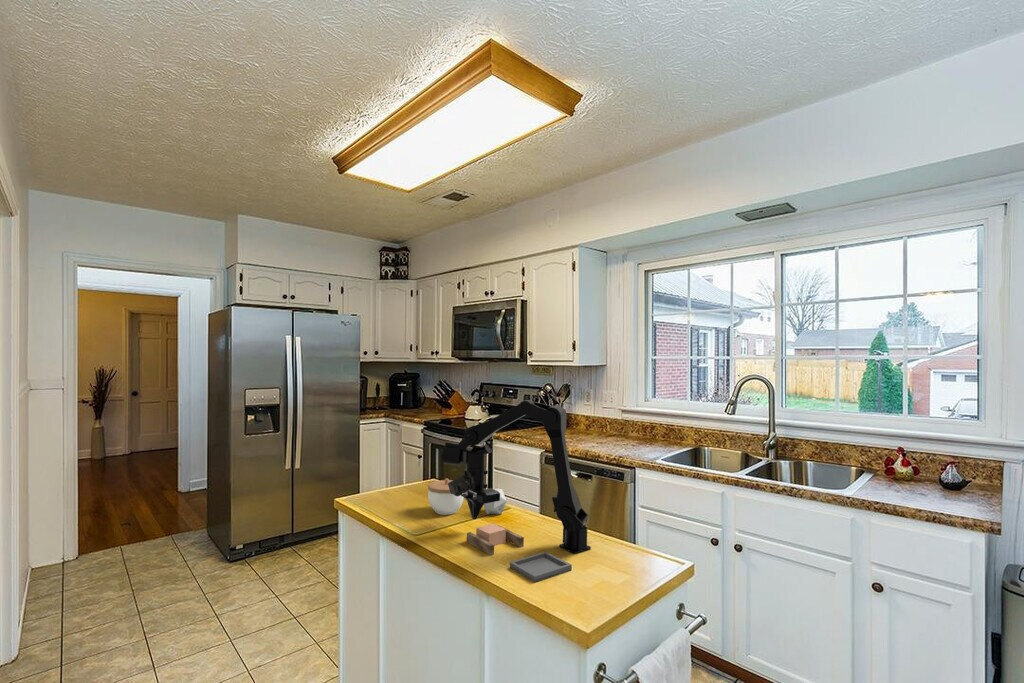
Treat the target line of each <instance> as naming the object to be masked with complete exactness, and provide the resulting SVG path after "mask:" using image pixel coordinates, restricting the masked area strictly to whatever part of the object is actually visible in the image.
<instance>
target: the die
mask: <svg viewBox="0 0 1024 683" xmlns="http://www.w3.org/2000/svg"><path fill="white" fill-rule="evenodd" d="M493 489H494V490H497V491H498V492H499V493H500V501H496V502H491V503H486V504H484V505H483V508H484V511H485V513H486V515H502V514H503V512H504V509H505V506H506V504H507V499H506V496H505V493H504V490H503V489H502V488H493Z"/></svg>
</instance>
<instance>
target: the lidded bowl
mask: <svg viewBox="0 0 1024 683" xmlns="http://www.w3.org/2000/svg"><path fill="white" fill-rule="evenodd" d="M453 480H454V479H452V480H451V479H449V478H444V479H441V480H435V481H432V482H429V483H428V484H427V497H428V498H427V499H428V502H429V505H430V507H431V508H432V509H433V510H434V512H435V513H436V514H437V515H440V516H442V515H444V516H450V515H454V514H456V513H457V511H458V510H459V509H460V508H461V506H462V505H463V502H464V499H465V498H464V497H462V496H461V495H460V496H455V495H453V494H451V493H450V490H449V487H448V483H449V482H451V481H453Z"/></svg>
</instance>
